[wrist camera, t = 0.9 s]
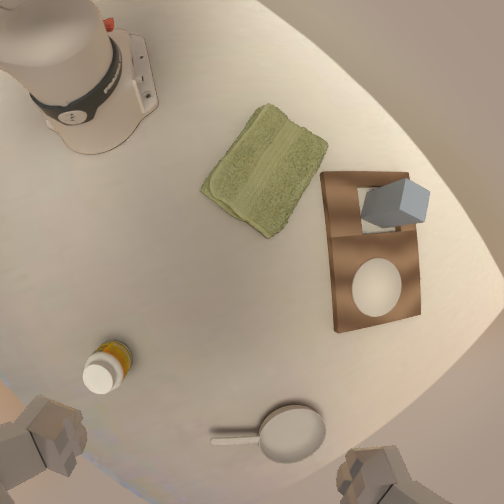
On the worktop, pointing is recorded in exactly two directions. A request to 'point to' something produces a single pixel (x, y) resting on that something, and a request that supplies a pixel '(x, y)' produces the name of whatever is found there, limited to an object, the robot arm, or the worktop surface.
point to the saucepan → (285, 435)
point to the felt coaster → (376, 287)
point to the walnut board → (365, 249)
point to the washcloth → (266, 170)
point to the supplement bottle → (107, 367)
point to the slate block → (396, 204)
